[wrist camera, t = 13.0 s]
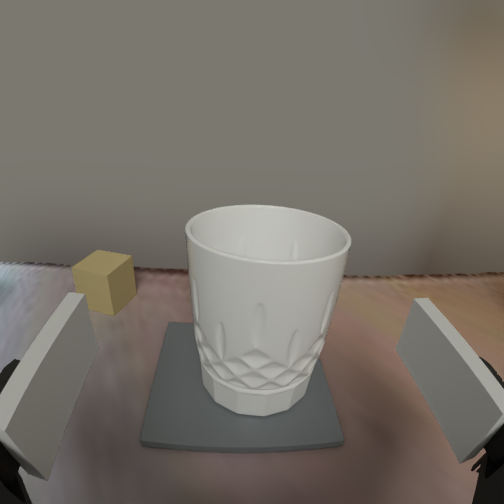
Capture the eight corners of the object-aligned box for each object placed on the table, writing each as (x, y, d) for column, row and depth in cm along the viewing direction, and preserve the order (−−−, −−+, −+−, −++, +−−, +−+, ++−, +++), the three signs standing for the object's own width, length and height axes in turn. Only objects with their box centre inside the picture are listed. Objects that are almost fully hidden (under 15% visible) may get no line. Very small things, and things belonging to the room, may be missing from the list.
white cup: (333, 363, 20) (366, 225, 16) (281, 447, 14) (318, 283, 10) (237, 326, 24) (243, 197, 20) (167, 385, 18) (149, 230, 14)
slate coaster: (142, 445, 14) (139, 440, 14) (169, 328, 24) (168, 321, 24) (341, 445, 15) (344, 440, 14) (307, 331, 25) (308, 325, 24)
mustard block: (80, 306, 25) (71, 267, 24) (103, 286, 29) (97, 249, 27) (114, 317, 25) (107, 275, 23) (136, 294, 28) (132, 255, 27)
